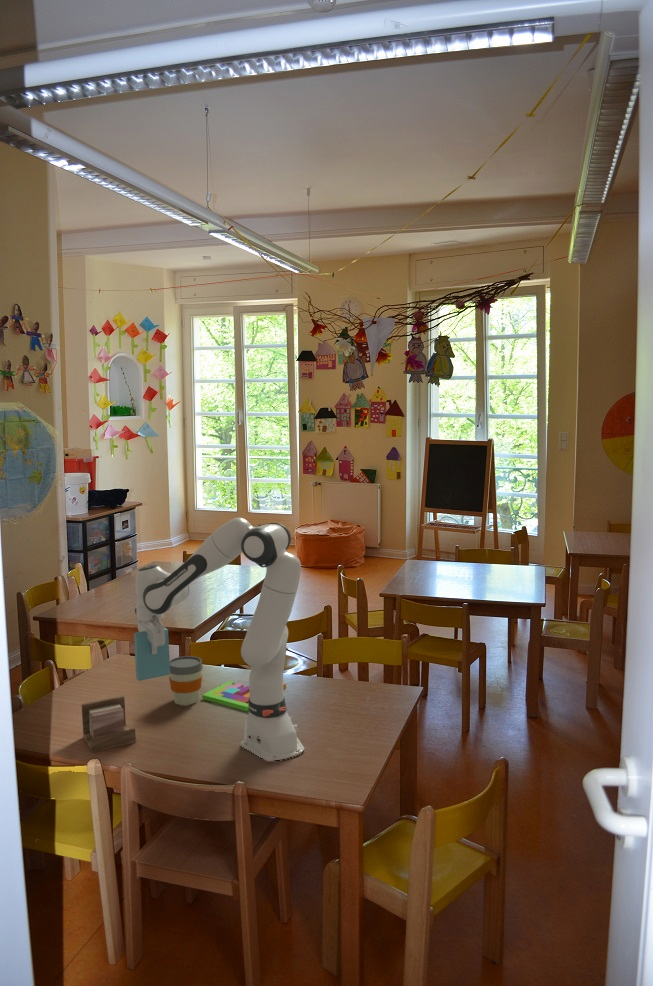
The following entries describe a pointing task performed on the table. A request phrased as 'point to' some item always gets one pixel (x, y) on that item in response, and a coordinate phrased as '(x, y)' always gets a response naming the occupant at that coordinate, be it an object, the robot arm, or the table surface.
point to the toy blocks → (231, 695)
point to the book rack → (106, 724)
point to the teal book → (151, 657)
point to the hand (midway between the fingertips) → (152, 651)
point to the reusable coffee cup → (185, 679)
